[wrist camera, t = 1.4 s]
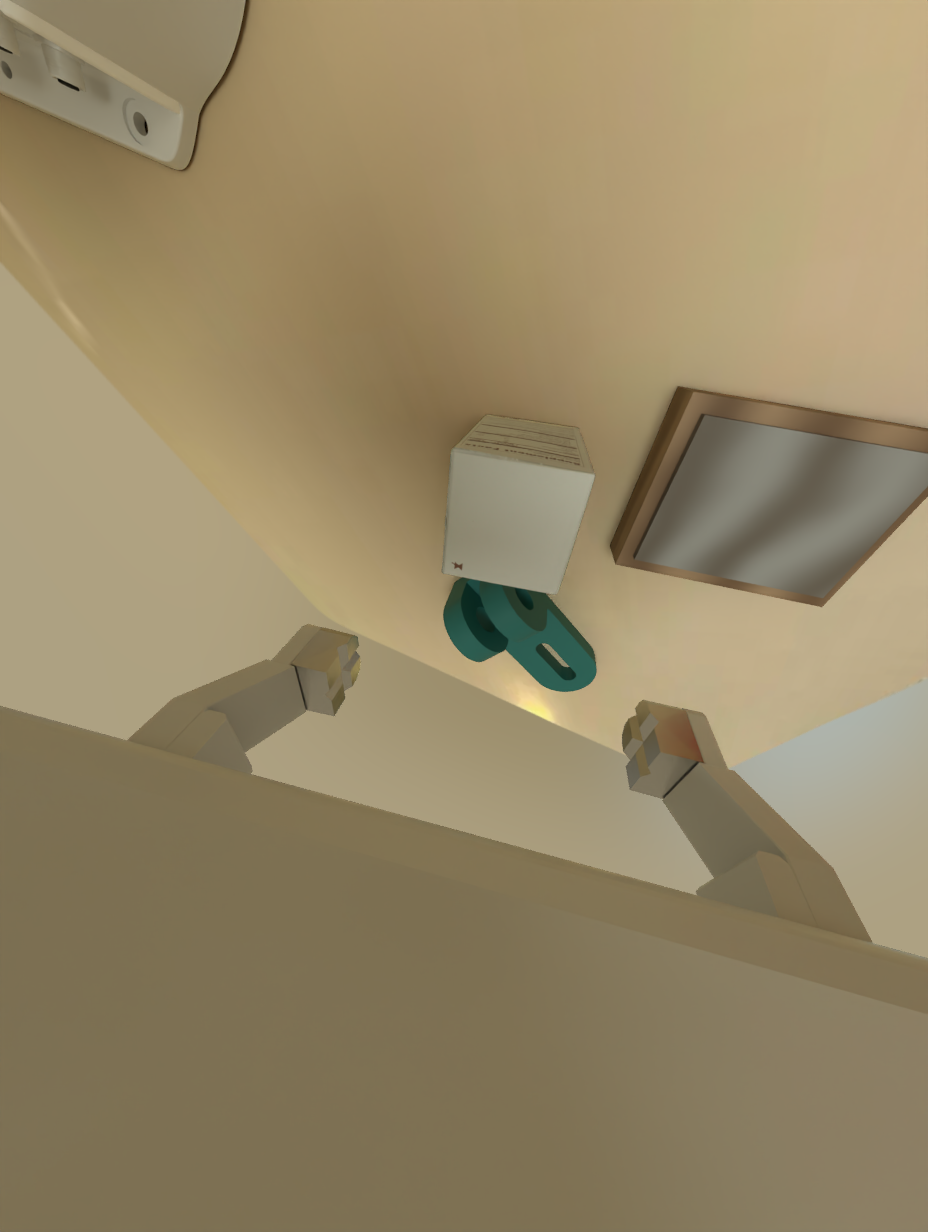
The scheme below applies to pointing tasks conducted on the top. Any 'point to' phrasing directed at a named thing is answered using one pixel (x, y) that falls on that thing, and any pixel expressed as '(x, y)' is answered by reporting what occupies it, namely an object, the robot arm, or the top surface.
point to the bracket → (518, 632)
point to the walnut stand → (769, 495)
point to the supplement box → (516, 502)
